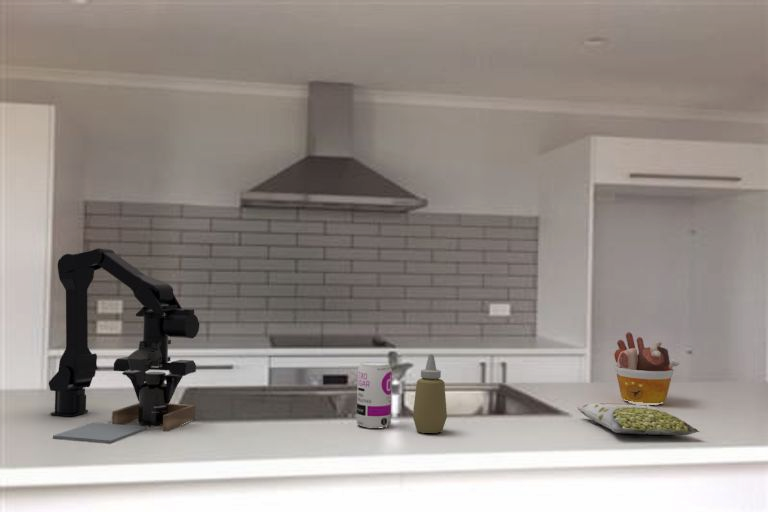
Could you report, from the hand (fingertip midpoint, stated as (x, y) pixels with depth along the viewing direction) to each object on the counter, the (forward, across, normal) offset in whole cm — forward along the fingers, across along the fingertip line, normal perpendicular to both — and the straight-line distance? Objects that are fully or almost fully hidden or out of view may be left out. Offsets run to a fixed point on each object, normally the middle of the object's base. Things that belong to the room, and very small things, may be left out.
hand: (153, 402), depth 174 cm
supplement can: (+5, +50, +15) cm, 52 cm away
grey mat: (+5, -5, -13) cm, 15 cm away
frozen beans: (+6, +111, +32) cm, 116 cm away
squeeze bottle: (+5, +64, +13) cm, 65 cm away
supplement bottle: (+5, 0, 0) cm, 5 cm away
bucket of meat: (+5, +118, +73) cm, 138 cm away
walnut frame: (+5, 0, 0) cm, 5 cm away
